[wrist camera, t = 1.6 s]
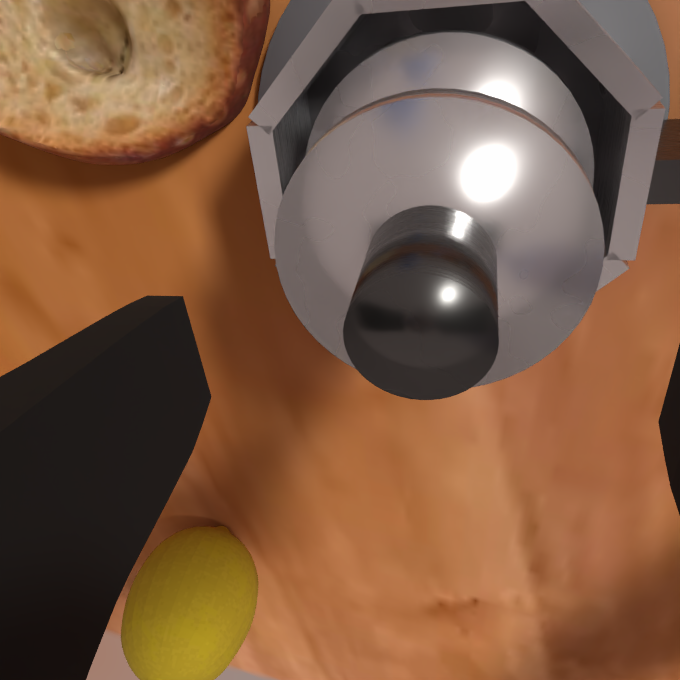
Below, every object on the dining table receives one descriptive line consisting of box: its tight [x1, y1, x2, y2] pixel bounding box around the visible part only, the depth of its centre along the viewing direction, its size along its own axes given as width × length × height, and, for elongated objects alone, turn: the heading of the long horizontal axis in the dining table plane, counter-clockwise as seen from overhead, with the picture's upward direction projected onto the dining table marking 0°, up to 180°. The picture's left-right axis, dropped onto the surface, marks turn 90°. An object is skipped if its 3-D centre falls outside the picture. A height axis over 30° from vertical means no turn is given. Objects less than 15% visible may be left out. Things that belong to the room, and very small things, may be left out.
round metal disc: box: [258, 0, 670, 120], centre depth 17 cm, size 11×11×1 cm
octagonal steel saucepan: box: [246, 0, 680, 291], centre depth 15 cm, size 9×11×4 cm
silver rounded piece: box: [274, 29, 605, 400], centre depth 12 cm, size 7×7×6 cm
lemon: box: [121, 526, 258, 680], centre depth 27 cm, size 6×6×8 cm
